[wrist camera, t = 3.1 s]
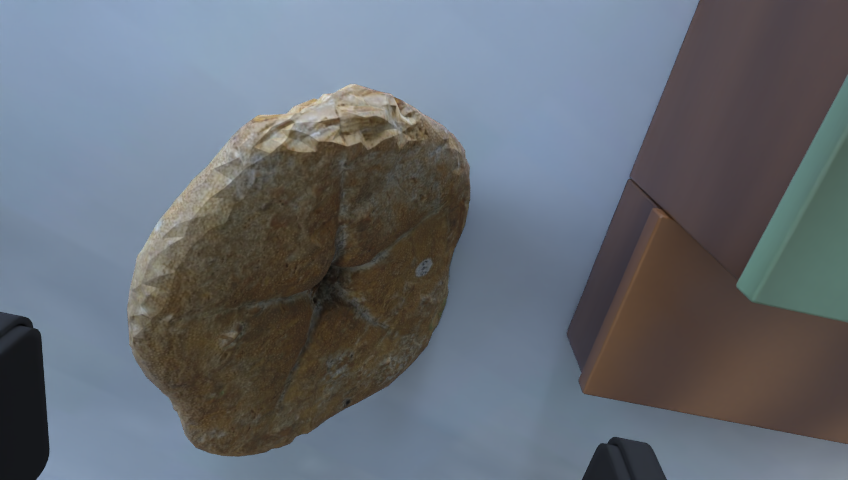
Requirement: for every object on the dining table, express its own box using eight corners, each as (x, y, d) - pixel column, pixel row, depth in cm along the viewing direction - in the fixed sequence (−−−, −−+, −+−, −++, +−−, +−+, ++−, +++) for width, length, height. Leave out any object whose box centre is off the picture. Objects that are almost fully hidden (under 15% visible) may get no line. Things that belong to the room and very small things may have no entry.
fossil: (201, 526, 14) (70, 173, 8) (140, 408, 16) (5, 73, 10) (463, 356, 18) (510, 60, 12) (384, 286, 21) (392, 12, 15)
